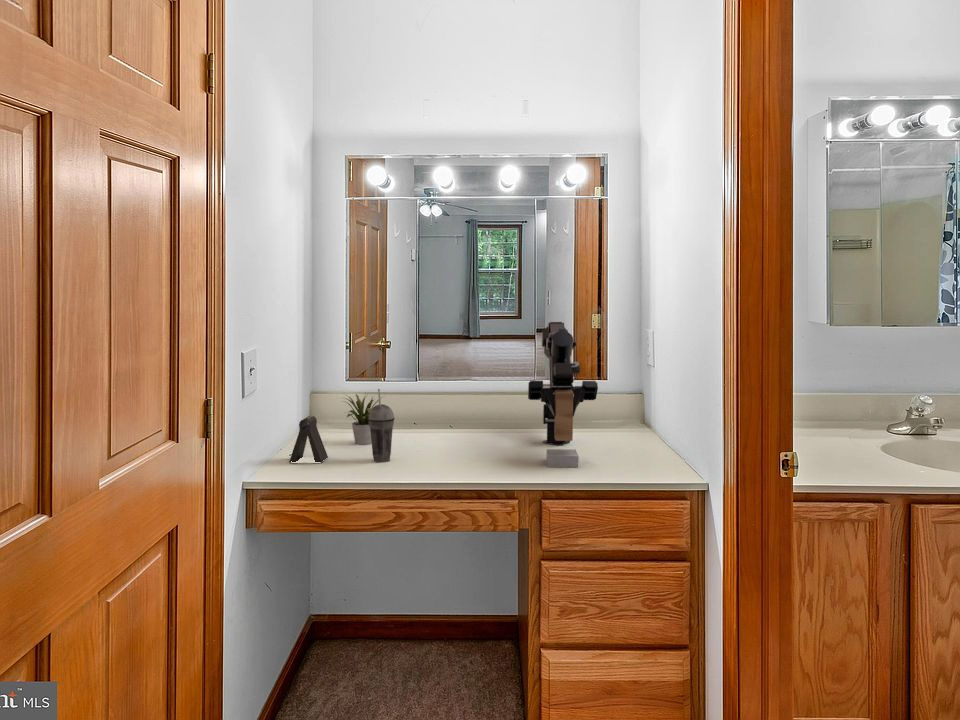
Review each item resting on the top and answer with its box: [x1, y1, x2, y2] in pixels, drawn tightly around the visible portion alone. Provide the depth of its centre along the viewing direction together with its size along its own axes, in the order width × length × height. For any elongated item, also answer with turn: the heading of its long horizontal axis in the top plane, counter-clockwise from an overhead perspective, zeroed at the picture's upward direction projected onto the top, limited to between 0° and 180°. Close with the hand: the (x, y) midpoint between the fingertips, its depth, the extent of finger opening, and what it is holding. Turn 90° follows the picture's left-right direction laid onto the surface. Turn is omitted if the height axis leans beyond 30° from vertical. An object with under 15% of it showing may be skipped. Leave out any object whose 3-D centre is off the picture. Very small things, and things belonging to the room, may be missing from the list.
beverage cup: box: [368, 388, 396, 463], centre depth 186 cm, size 7×7×20 cm
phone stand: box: [288, 415, 329, 463], centre depth 186 cm, size 9×6×12 cm, turn 86°
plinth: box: [545, 448, 580, 468], centre depth 183 cm, size 8×8×3 cm
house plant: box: [341, 391, 385, 446], centre depth 208 cm, size 14×14×16 cm
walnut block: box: [554, 390, 574, 442], centre depth 182 cm, size 4×4×13 cm
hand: (564, 415), depth 181 cm, fingers closed on walnut block, 4 cm apart
